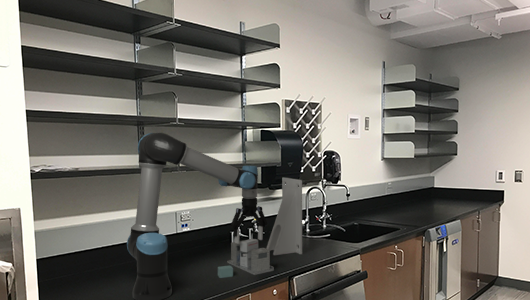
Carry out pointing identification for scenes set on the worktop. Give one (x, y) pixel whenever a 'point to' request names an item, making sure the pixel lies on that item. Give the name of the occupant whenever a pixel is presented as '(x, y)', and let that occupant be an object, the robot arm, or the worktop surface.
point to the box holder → (252, 259)
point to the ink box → (247, 251)
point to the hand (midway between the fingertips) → (248, 241)
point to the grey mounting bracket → (288, 220)
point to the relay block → (225, 271)
